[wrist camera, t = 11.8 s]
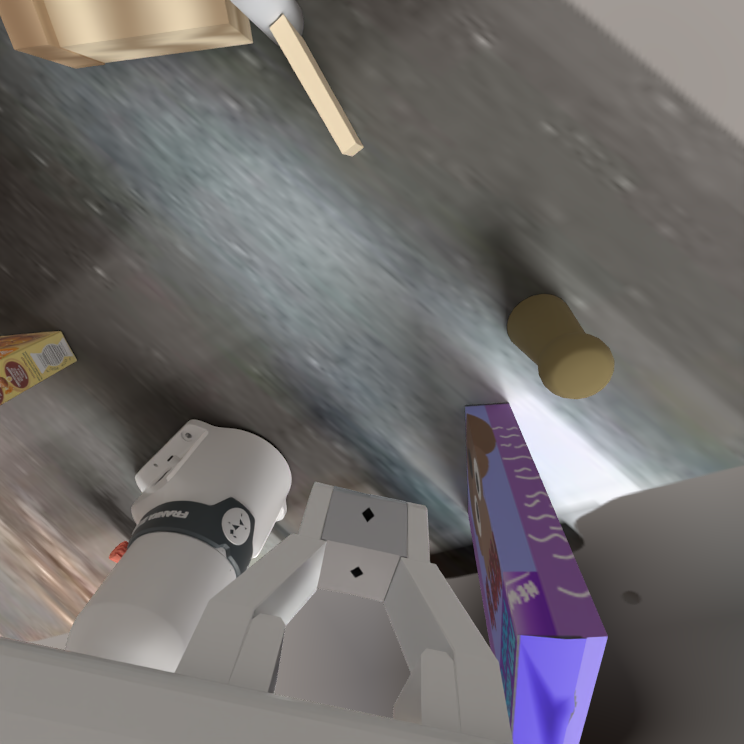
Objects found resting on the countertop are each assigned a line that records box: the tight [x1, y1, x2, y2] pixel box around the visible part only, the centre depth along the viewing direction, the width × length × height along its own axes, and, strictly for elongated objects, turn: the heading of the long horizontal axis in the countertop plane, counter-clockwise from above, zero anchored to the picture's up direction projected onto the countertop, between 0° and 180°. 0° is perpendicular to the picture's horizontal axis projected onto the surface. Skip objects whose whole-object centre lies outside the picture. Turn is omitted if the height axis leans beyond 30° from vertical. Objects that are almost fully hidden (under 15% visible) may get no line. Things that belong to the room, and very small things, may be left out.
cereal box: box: [465, 403, 608, 744], centre depth 35 cm, size 17×5×24 cm, turn 8°
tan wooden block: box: [0, 0, 253, 68], centre depth 26 cm, size 15×3×5 cm, turn 94°
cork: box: [507, 294, 614, 399], centre depth 32 cm, size 6×6×11 cm
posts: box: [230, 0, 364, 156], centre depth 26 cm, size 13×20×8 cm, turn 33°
